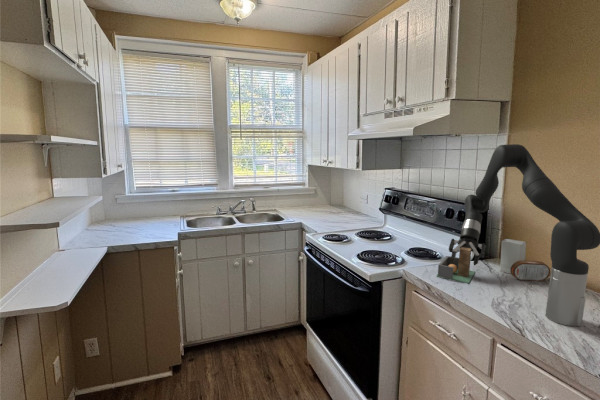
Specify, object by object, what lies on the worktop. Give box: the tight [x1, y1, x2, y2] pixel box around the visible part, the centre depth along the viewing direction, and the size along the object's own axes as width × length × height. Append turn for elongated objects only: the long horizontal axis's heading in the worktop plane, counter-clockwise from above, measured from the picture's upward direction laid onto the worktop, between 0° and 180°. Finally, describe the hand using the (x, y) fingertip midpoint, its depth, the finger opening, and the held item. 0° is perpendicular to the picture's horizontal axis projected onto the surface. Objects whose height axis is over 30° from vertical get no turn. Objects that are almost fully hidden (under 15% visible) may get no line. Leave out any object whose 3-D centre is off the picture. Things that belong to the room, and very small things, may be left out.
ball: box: [449, 264, 457, 273], centre depth 150 cm, size 4×4×4 cm
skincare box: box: [499, 238, 527, 275], centre depth 151 cm, size 8×6×15 cm
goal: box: [435, 255, 476, 284], centre depth 149 cm, size 13×16×5 cm
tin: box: [510, 260, 551, 282], centre depth 143 cm, size 15×3×8 cm, turn 84°
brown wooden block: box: [458, 247, 472, 277], centre depth 147 cm, size 4×4×12 cm
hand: (463, 262), depth 146 cm, fingers open, 8 cm apart
